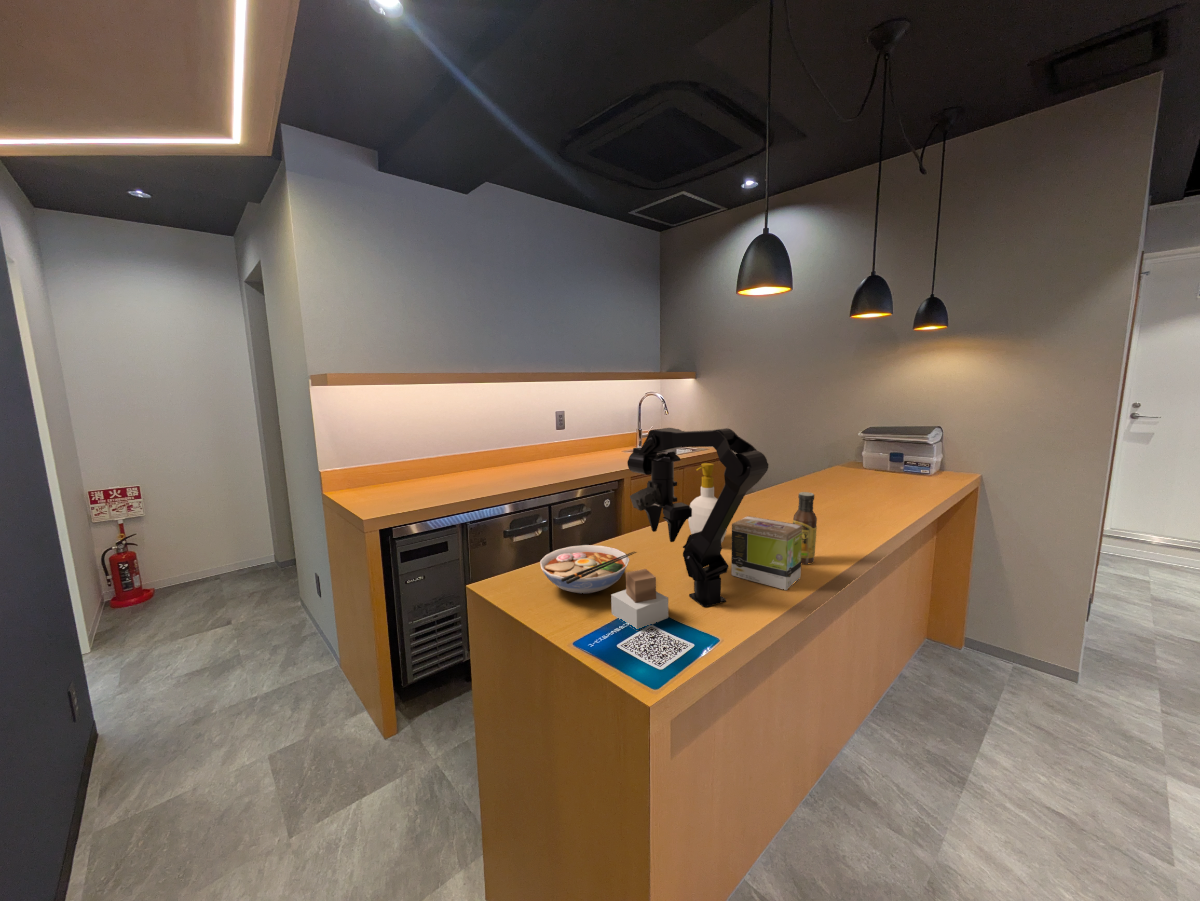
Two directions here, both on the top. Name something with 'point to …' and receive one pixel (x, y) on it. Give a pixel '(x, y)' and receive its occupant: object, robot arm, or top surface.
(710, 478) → the soap bottle
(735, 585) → the top surface
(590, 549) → the ramen bowl
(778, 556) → the tea box
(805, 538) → the sauce bottle
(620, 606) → the light grey block
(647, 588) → the walnut cube
